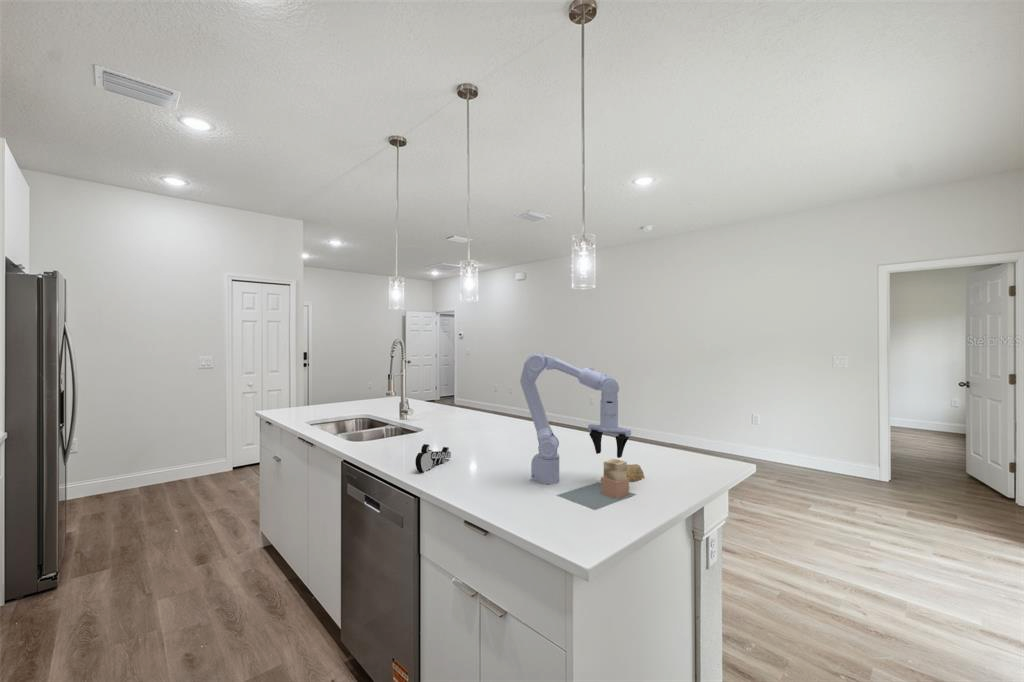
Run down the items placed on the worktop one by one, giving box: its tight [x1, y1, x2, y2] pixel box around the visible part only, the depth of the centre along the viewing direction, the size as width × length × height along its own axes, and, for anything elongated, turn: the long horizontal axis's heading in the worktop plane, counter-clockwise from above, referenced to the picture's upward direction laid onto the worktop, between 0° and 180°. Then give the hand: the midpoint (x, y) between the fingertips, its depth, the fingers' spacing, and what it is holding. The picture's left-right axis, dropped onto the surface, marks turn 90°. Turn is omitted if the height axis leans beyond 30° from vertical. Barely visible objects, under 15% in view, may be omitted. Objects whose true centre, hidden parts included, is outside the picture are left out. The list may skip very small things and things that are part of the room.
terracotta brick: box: [600, 476, 630, 499], centre depth 134 cm, size 6×6×5 cm
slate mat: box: [556, 481, 637, 511], centre depth 133 cm, size 15×20×1 cm
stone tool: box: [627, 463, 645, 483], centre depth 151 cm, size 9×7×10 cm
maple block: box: [603, 458, 628, 481], centre depth 134 cm, size 5×5×5 cm
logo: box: [415, 443, 452, 473], centre depth 165 cm, size 21×2×10 cm, turn 158°
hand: (608, 455), depth 143 cm, fingers open, 7 cm apart
